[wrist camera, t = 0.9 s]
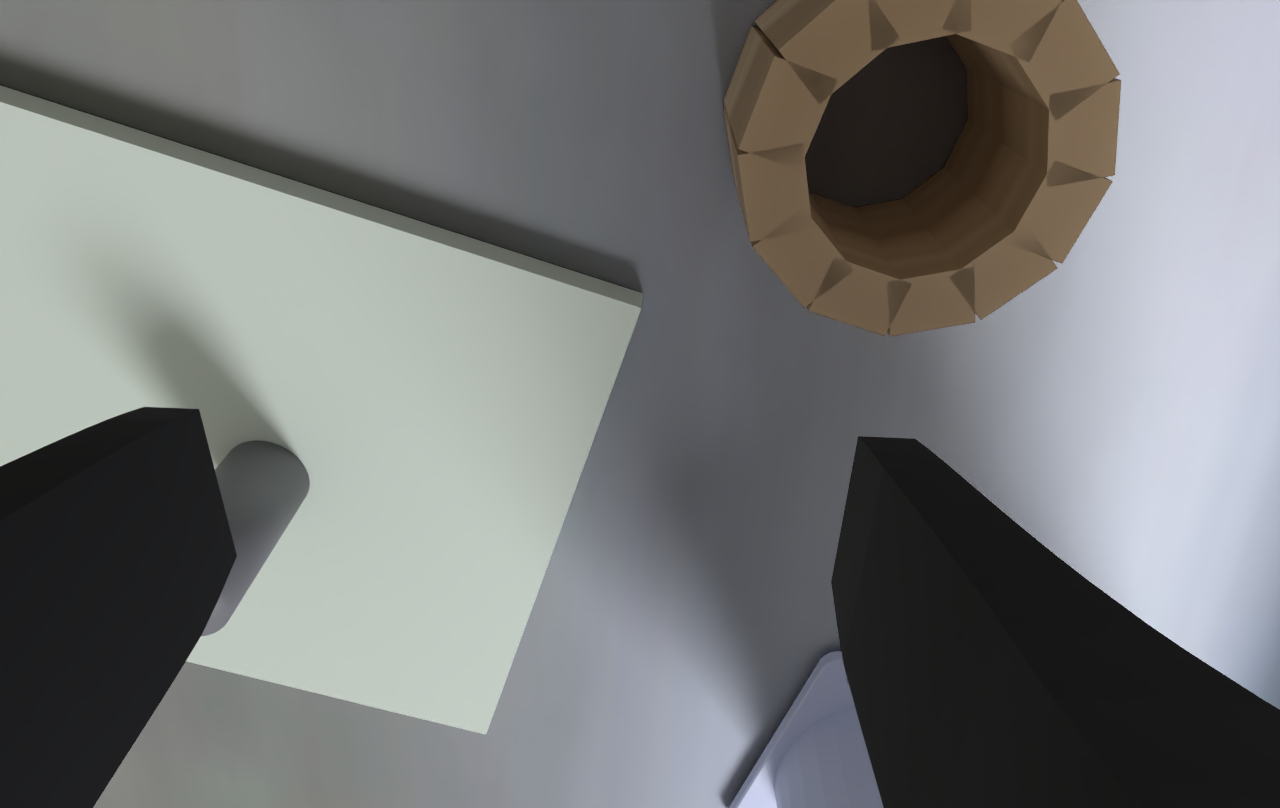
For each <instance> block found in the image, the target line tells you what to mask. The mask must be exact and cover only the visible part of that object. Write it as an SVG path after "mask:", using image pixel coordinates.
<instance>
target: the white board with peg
mask: <svg viewBox="0 0 1280 808" xmlns="http://www.w3.org/2000/svg"><path fill="white" fill-rule="evenodd" d="M642 296H643V293H640V292H637V291H634V290H631V289H627V288H624V287H621V286H618V285H615V284H612V283H609V282H606V281H603V280H600V279H597V278H593V277H590V276H587V275H584V274H581V273H578V272H575V271H572V270H569V269H566V268H563V267H560V266H556V265H553V264H550V263H547V262H544V261H541V260H538V259H535V258H532V257H529V256H526V255H522V254H519V253H516V252H513V251H510V250H507V249H504V248H501V247H498V246H495V245H492V244H489V243H485V242H482V241H479V240H476V239H473V238H470V237H467V236H464V235H461V234H458V233H455V232H451V231H448V230H445V229H442V228H439V227H436V226H433V225H430V224H427V223H424V222H421V221H418V220H414V219H411V218H408V217H405V216H402V215H399V214H396V213H393V212H390V211H387V210H384V209H381V208H377V207H374V206H371V205H368V204H365V203H362V202H359V201H356V200H353V199H350V198H347V197H343V196H340V195H337V194H334V193H331V192H328V191H325V190H322V189H319V188H316V187H313V186H310V185H306V184H303V183H300V182H297V181H294V180H291V179H288V178H285V177H282V176H279V175H276V174H272V173H269V172H266V171H263V170H260V169H257V168H254V167H251V166H248V165H245V164H242V163H239V162H235V161H232V160H229V159H226V158H223V157H220V156H217V155H214V154H211V153H208V152H205V151H201V150H198V149H195V148H192V147H189V146H186V145H183V144H180V143H177V142H174V141H171V140H168V139H164V138H161V137H158V136H155V135H152V134H149V133H146V132H143V131H140V130H137V129H134V128H131V127H127V126H124V125H121V124H118V123H115V122H112V121H109V120H106V119H103V118H100V117H97V116H93V115H90V114H87V113H84V112H81V111H78V110H75V109H72V108H69V107H66V106H63V105H60V104H56V103H53V102H50V101H47V100H44V99H41V98H38V97H35V96H32V95H29V94H26V93H22V92H19V91H16V90H13V89H10V88H7V87H4V86H1V85H0V466H2V465H5V464H7V463H9V462H11V461H13V460H16V459H18V458H20V457H22V456H25V455H27V454H29V453H31V452H33V451H36V450H38V449H40V448H42V447H44V446H47V445H49V444H51V443H53V442H56V441H58V440H60V439H63V438H65V437H67V436H69V435H72V434H74V433H76V432H79V431H81V430H83V429H86V428H88V427H90V426H93V425H95V424H98V423H100V422H103V421H105V420H107V419H110V418H113V417H115V416H118V415H121V414H123V413H127V412H130V411H133V410H136V409H139V408H142V407H162V408H186V409H199V411H200V414H201V418H202V422H203V426H204V430H205V434H206V438H207V442H208V445H209V449H210V453H211V457H212V461H213V465H214V469H215V473H216V477H217V480H218V484H219V488H220V492H221V496H222V500H223V504H224V508H225V511H226V515H227V519H228V523H229V527H230V531H231V535H232V539H233V542H234V546H235V550H236V554H237V557H236V559H235V562H234V564H233V567H232V569H231V571H230V574H229V576H228V578H227V581H226V583H225V585H224V588H223V590H222V592H221V595H220V597H219V599H218V602H217V604H216V606H215V608H214V610H213V612H212V614H211V616H210V619H209V621H208V623H207V625H206V627H205V629H204V631H203V633H202V635H201V637H200V639H199V640H198V642H197V644H196V645H195V647H194V649H193V650H192V652H191V654H190V655H189V657H188V658H187V660H186V661H187V662H191V663H195V664H199V665H204V666H208V667H212V668H216V669H220V670H224V671H228V672H232V673H236V674H240V675H244V676H248V677H253V678H257V679H261V680H265V681H269V682H273V683H277V684H281V685H285V686H289V687H293V688H297V689H302V690H306V691H310V692H314V693H318V694H322V695H326V696H330V697H334V698H338V699H342V700H346V701H351V702H355V703H359V704H363V705H367V706H371V707H375V708H379V709H383V710H387V711H391V712H396V713H400V714H404V715H408V716H412V717H416V718H420V719H424V720H428V721H432V722H436V723H440V724H445V725H449V726H453V727H457V728H461V729H465V730H469V731H473V732H477V733H481V734H485V735H486V733H487V730H488V728H489V725H490V722H491V719H492V717H493V714H494V711H495V709H496V706H497V703H498V700H499V698H500V695H501V692H502V689H503V687H504V684H505V681H506V678H507V676H508V673H509V670H510V667H511V665H512V662H513V659H514V656H515V654H516V651H517V648H518V646H519V643H520V640H521V637H522V635H523V632H524V629H525V626H526V624H527V621H528V618H529V615H530V613H531V610H532V607H533V604H534V602H535V599H536V596H537V593H538V591H539V588H540V585H541V583H542V580H543V577H544V574H545V572H546V569H547V566H548V563H549V561H550V558H551V555H552V552H553V550H554V547H555V544H556V541H557V539H558V536H559V533H560V530H561V528H562V525H563V522H564V519H565V517H566V514H567V511H568V509H569V506H570V503H571V500H572V498H573V495H574V492H575V489H576V487H577V484H578V481H579V478H580V476H581V473H582V470H583V467H584V465H585V462H586V459H587V456H588V454H589V451H590V448H591V446H592V443H593V440H594V437H595V435H596V432H597V429H598V426H599V424H600V421H601V418H602V415H603V413H604V410H605V407H606V404H607V402H608V399H609V396H610V393H611V391H612V388H613V385H614V383H615V380H616V377H617V374H618V372H619V369H620V366H621V363H622V361H623V358H624V355H625V352H626V350H627V347H628V344H629V341H630V339H631V336H632V333H633V330H634V328H635V325H636V322H637V320H638V317H639V314H640V311H641V309H642Z"/></svg>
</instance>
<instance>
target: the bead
mask: <svg viewBox="0 0 1280 808" xmlns="http://www.w3.org/2000/svg"><path fill="white" fill-rule="evenodd" d="M755 23H756V24H757V25H758V27H759V28H760V29H759V28H756V27H753V26H751V27H750V30H749V33H748V35H747V38H746V41H745V44H744V46H743V49H742V52H741V54H740V57H739V60H738V63H737V65H736V68H735V71H734V73H733V76H732V79H731V82H730V84H729V87H728V90H727V92H726V95H725V98H724V104H725V105H724V106H723V109H724V116H725V122H726V129H727V136H728V143H729V149H730V156H731V163H732V169H733V176H734V180H735V184H736V188H737V192H738V196H739V200H740V204H741V208H742V212H743V216H744V220H745V224H746V228H747V232H748V235H749V239H750V242H751V243H752V247H753V248H754V250H755V251H756V252H757V253H758V254H759V255H760V257H761V258H762V259H763V260H764V261H765V263H766V264H767V265H768V266H769V267H770V268H771V270H772V271H773V272H774V273H775V274H776V276H777V277H778V278H779V279H780V280H781V281H782V283H783V284H784V285H785V286H786V287H787V288H788V290H789V291H790V292H791V293H792V294H793V296H794V297H795V298H796V299H797V300H798V301H799V303H800V304H801V305H802V306H803V307H804V308H805V307H806V306H807V308H808V311H810V312H813V313H816V314H819V315H822V316H825V317H828V318H831V319H834V320H837V321H840V322H843V323H847V324H850V325H853V326H856V327H859V328H862V329H865V330H868V331H871V332H874V333H877V334H880V335H883V336H885V334H886V332H887V331H888V333H889V335H890V336H896V335H902V334H908V333H914V332H920V331H926V330H932V329H938V328H944V327H950V326H956V325H962V324H968V323H974V322H975V313H976V315H977V316H978V317H979V318H980V320H982V319H983V318H985V317H986V316H988V315H989V314H991V313H992V312H993V311H995V310H996V309H998V308H999V307H1001V306H1002V305H1004V304H1005V303H1007V302H1008V301H1010V300H1011V299H1013V298H1014V297H1016V296H1017V295H1019V294H1020V293H1022V292H1023V291H1025V290H1026V289H1028V288H1029V287H1030V286H1032V285H1033V284H1035V283H1036V282H1038V281H1039V280H1041V279H1042V278H1044V277H1045V276H1047V275H1048V274H1050V273H1051V272H1053V271H1054V270H1056V269H1057V267H1056V265H1055V264H1054V262H1053V261H1052V260H1054V261H1056V262H1059V263H1063V261H1064V260H1065V258H1066V256H1067V255H1068V253H1069V251H1070V250H1071V248H1072V247H1073V245H1074V243H1075V242H1076V240H1077V238H1078V237H1079V235H1080V234H1081V232H1082V230H1083V229H1084V227H1085V225H1086V224H1087V222H1088V221H1089V219H1090V217H1091V216H1092V214H1093V212H1094V211H1095V209H1096V208H1097V206H1098V204H1099V203H1100V201H1101V199H1102V198H1103V196H1104V195H1105V193H1106V191H1107V190H1108V188H1109V186H1110V185H1111V183H1112V181H1111V180H1109V179H1107V178H1106V177H1108V176H1113V175H1115V163H1116V148H1117V133H1118V119H1119V104H1120V90H1121V80H1118V79H1116V78H1115V77H1116V76H1118V75H1119V72H1118V70H1117V68H1116V67H1115V65H1114V63H1113V62H1112V60H1111V58H1110V56H1109V55H1108V53H1107V51H1106V50H1105V48H1104V46H1103V44H1102V43H1101V41H1100V39H1099V37H1098V36H1097V34H1096V32H1095V31H1094V29H1093V27H1092V25H1091V24H1090V22H1089V20H1088V19H1087V17H1086V15H1085V13H1084V12H1083V10H1082V8H1081V7H1080V5H1079V3H1078V1H1077V0H777V1H776V2H775V3H774V4H772V5H771V6H770V7H769V8H768V9H767V10H766V11H765V12H764V13H762V14H761V15H760V16H759V17H758V18H757V19H756V20H755ZM943 36H946V37H947V39H948V40H949V42H950V43H951V45H952V46H953V48H954V49H955V51H956V52H957V54H958V55H959V57H960V58H961V60H962V61H963V63H964V65H965V66H966V68H967V108H968V120H967V122H966V124H965V126H964V128H963V130H962V132H961V134H960V136H959V138H958V140H957V142H956V144H955V146H954V148H953V150H952V152H951V154H950V156H949V158H948V160H947V161H946V163H945V165H944V167H943V168H942V169H941V170H939V171H938V172H937V173H935V174H934V175H933V176H932V177H930V178H929V179H928V180H926V181H925V182H924V183H922V184H921V185H920V186H918V187H917V188H916V189H914V190H913V191H912V192H910V193H909V194H908V195H906V196H905V197H904V198H902V199H899V200H893V201H888V202H882V203H877V204H872V205H866V206H861V207H855V208H853V207H851V206H848V205H845V204H842V203H839V202H836V201H833V200H831V199H828V198H825V197H822V196H819V195H816V194H813V193H811V192H810V191H809V190H808V183H807V174H806V165H805V155H806V153H807V150H808V148H809V146H810V143H811V141H812V139H813V136H814V134H815V132H816V129H817V127H818V125H819V122H820V120H821V118H822V115H823V113H824V111H825V108H826V106H827V104H828V101H829V99H830V97H831V94H832V93H834V92H835V91H836V90H837V89H838V88H840V87H841V86H842V85H843V84H844V83H846V82H847V81H848V80H849V79H850V78H852V77H853V76H854V75H855V74H856V73H858V72H859V71H860V70H861V69H862V68H864V67H865V66H866V65H867V64H868V63H870V62H871V61H872V60H873V59H874V58H876V57H877V56H878V55H879V54H880V53H882V52H883V51H884V50H885V49H886V48H889V47H894V46H899V45H904V44H909V43H914V42H918V41H923V40H928V39H933V38H938V37H943Z"/></svg>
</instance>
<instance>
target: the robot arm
mask: <svg viewBox="0 0 1280 808" xmlns="http://www.w3.org/2000/svg"><path fill="white" fill-rule="evenodd" d="M236 557H237V554H236V550H235V546H234V542H233V539H232V535H231V531H230V527H229V523H228V519H227V515H226V511H225V508H224V504H223V500H222V496H221V492H220V488H219V484H218V480H217V477H216V473H215V469H214V465H213V461H212V457H211V453H210V449H209V445H208V442H207V438H206V434H205V430H204V426H203V422H202V418H201V414H200V411H199V409H186V408H162V407H142V408H139V409H136V410H133V411H130V412H127V413H123V414H121V415H118V416H115V417H113V418H110V419H107V420H105V421H103V422H100V423H98V424H95V425H93V426H90V427H88V428H86V429H83V430H81V431H79V432H76V433H74V434H72V435H69V436H67V437H65V438H63V439H60V440H58V441H56V442H53V443H51V444H49V445H47V446H44V447H42V448H40V449H38V450H36V451H33V452H31V453H29V454H27V455H25V456H22V457H20V458H18V459H16V460H13V461H11V462H9V463H7V464H5V465H2V466H0V808H93V806H94V805H95V803H96V802H97V800H98V799H99V797H100V796H101V794H102V792H103V791H104V789H105V788H106V786H107V785H108V783H109V781H110V780H111V778H112V777H113V775H114V774H115V772H116V770H117V769H118V767H119V766H120V764H121V763H122V761H123V759H124V758H125V756H126V755H127V753H128V752H129V750H130V749H131V747H132V745H133V744H134V742H135V741H136V739H137V738H138V736H139V734H140V733H141V731H142V730H143V728H144V727H145V725H146V723H147V722H148V720H149V719H150V717H151V716H152V714H153V713H154V711H155V709H156V708H157V706H158V705H159V703H160V702H161V700H162V698H163V697H164V695H165V694H166V692H167V690H168V689H169V687H170V686H171V684H172V682H173V681H174V679H175V678H176V676H177V674H178V673H179V671H180V670H181V668H182V666H183V665H184V663H185V662H186V660H187V658H188V657H189V655H190V654H191V652H192V650H193V649H194V647H195V645H196V644H197V642H198V640H199V639H200V637H201V635H202V633H203V631H204V629H205V627H206V625H207V623H208V621H209V619H210V616H211V614H212V612H213V610H214V608H215V606H216V604H217V602H218V599H219V597H220V595H221V592H222V590H223V588H224V585H225V583H226V581H227V578H228V576H229V574H230V571H231V569H232V567H233V564H234V562H235V559H236ZM832 589H833V597H834V604H835V612H836V619H837V626H838V633H839V639H840V646H841V652H840V651H835V652H830V653H828V654H826V655H824V656H823V657H822V658H821V659H820V661H819V662H818V664H817V665H816V667H815V669H814V670H813V672H812V674H811V675H810V677H809V678H808V680H807V682H806V683H805V685H804V686H803V688H802V690H801V691H800V693H799V695H798V696H797V698H796V699H795V701H794V703H793V704H792V706H791V708H790V709H789V711H788V712H787V714H786V716H785V717H784V719H783V721H782V722H781V724H780V725H779V727H778V729H777V730H776V732H775V733H774V735H773V737H772V738H771V740H770V742H769V743H768V745H767V746H766V748H765V750H764V751H763V753H762V755H761V756H760V758H759V759H758V761H757V763H756V764H755V766H754V768H753V769H752V771H751V772H750V774H749V776H748V777H747V779H746V780H745V782H744V784H743V785H742V787H741V789H740V790H739V792H738V793H737V795H736V797H735V798H734V800H733V802H732V803H731V805H730V806H729V808H1280V710H1279V709H1277V708H1276V707H1274V706H1272V705H1271V704H1269V703H1267V702H1266V701H1264V700H1263V699H1261V698H1259V697H1258V696H1256V695H1255V694H1253V693H1252V692H1250V691H1248V690H1247V689H1245V688H1244V687H1242V686H1241V685H1239V684H1237V683H1236V682H1234V681H1233V680H1231V679H1230V678H1228V677H1227V676H1225V675H1223V674H1222V673H1220V672H1219V671H1217V670H1216V669H1214V668H1212V667H1211V666H1209V665H1208V664H1206V663H1205V662H1203V661H1202V660H1200V659H1198V658H1197V657H1195V656H1194V655H1192V654H1191V653H1189V652H1187V651H1186V650H1184V649H1183V648H1181V647H1180V646H1179V645H1177V644H1176V643H1174V642H1173V641H1171V640H1170V639H1168V638H1167V637H1165V636H1164V635H1162V634H1161V633H1159V632H1158V631H1157V630H1155V629H1154V628H1152V627H1151V626H1149V625H1148V624H1147V623H1145V622H1144V621H1142V620H1141V619H1140V618H1138V617H1137V616H1136V615H1134V614H1133V613H1132V612H1130V611H1129V610H1127V609H1126V608H1125V607H1123V606H1122V605H1121V604H1119V603H1118V602H1117V601H1115V600H1114V599H1112V598H1111V597H1110V596H1108V595H1107V594H1106V593H1104V592H1103V591H1102V590H1100V589H1099V588H1098V587H1096V586H1095V585H1093V584H1092V583H1091V582H1089V581H1088V580H1087V579H1085V578H1084V577H1083V576H1082V575H1080V574H1079V573H1078V572H1076V571H1075V570H1074V569H1073V568H1071V567H1070V566H1069V565H1067V564H1066V563H1065V562H1064V561H1062V560H1061V559H1060V558H1058V557H1057V556H1056V555H1055V554H1053V553H1052V552H1051V551H1050V550H1049V549H1047V548H1046V547H1045V546H1044V545H1042V544H1041V543H1040V542H1039V541H1037V540H1036V539H1035V538H1034V537H1032V536H1031V535H1030V534H1029V533H1028V532H1026V531H1025V530H1024V529H1023V528H1022V527H1020V526H1019V525H1018V524H1017V523H1015V522H1014V521H1013V520H1012V519H1011V518H1010V517H1008V516H1007V515H1006V514H1005V513H1004V512H1002V511H1001V510H1000V509H999V508H998V507H996V506H995V505H994V504H993V503H992V502H991V501H989V500H988V499H987V498H986V497H985V496H984V495H982V494H981V493H980V492H979V491H978V490H977V489H975V488H974V487H973V486H972V485H971V484H970V483H968V482H967V481H966V480H965V479H964V478H963V477H961V476H960V475H959V474H958V473H957V472H955V471H954V470H953V469H952V468H951V467H950V466H948V465H947V464H946V463H945V462H944V461H942V460H941V459H940V458H939V457H938V456H936V455H935V454H934V453H933V452H932V451H930V450H929V449H928V448H926V447H925V446H924V445H922V444H921V443H920V442H918V441H917V440H916V439H906V438H882V437H858V441H857V446H856V452H855V457H854V463H853V468H852V473H851V479H850V484H849V490H848V495H847V500H846V506H845V511H844V517H843V522H842V527H841V533H840V538H839V544H838V549H837V554H836V560H835V565H834V571H833V576H832Z"/></svg>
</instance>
